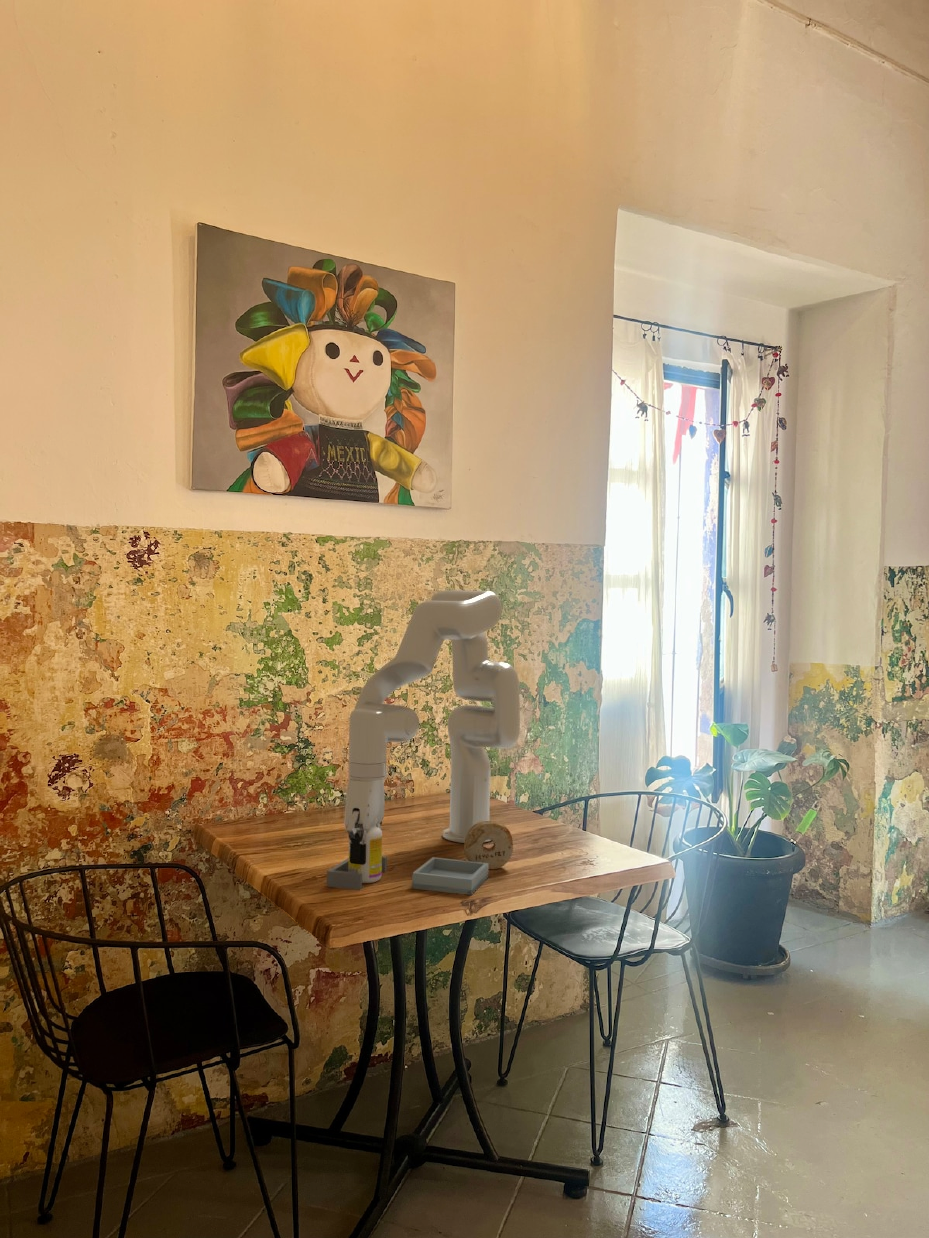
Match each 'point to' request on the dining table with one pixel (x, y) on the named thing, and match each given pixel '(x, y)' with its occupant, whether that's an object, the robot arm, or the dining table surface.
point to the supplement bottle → (370, 856)
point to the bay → (348, 876)
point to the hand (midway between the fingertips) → (365, 858)
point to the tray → (450, 875)
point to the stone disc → (495, 854)
